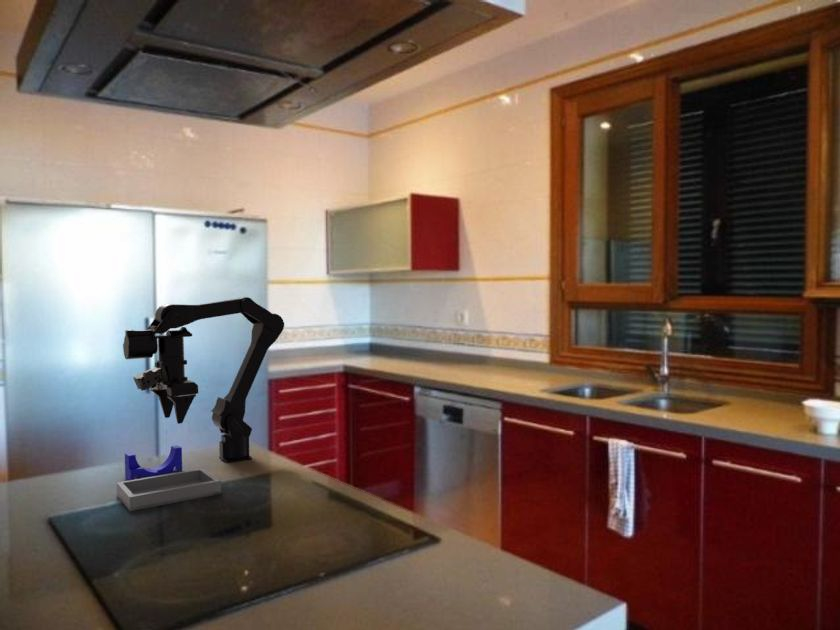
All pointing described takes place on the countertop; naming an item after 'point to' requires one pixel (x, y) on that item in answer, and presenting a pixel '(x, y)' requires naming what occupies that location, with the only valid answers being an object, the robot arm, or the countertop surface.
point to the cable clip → (167, 467)
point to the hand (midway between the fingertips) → (173, 420)
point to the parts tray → (167, 489)
